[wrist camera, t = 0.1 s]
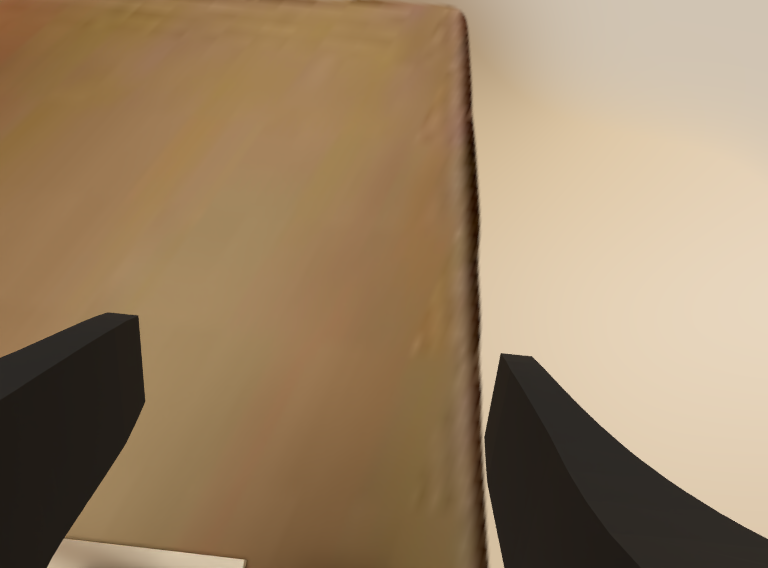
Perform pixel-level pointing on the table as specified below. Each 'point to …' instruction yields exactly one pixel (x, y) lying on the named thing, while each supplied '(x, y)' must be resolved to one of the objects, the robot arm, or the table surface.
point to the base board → (132, 557)
